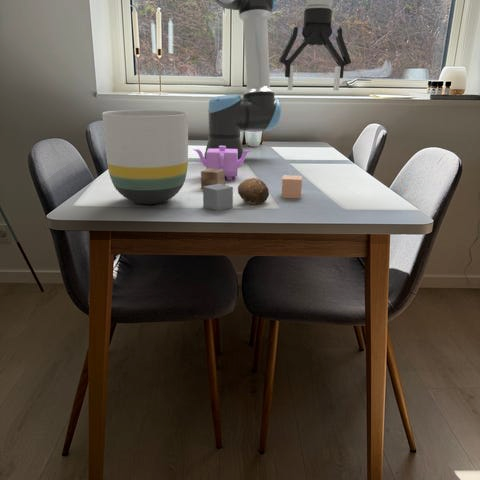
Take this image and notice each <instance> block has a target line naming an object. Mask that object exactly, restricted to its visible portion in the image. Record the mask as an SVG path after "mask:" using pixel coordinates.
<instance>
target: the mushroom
mask: <svg viewBox="0 0 480 480" xmlns="http://www.w3.org/2000/svg"><path fill="white" fill-rule="evenodd" d="M237 194H238V195H239V196H240V199H242V200H243V201H244V202H245V203H247V204H251V205H254V206H255V205H262V204H264V203H265V202H267V201H268V199H269V196H270V191H269V188H268V186H267V185H266V183H265V182H264V181H263V180H261V179H260V178H254V177H252V178H247V179H244V180H243V181H241V182H240V183H239V185H238V186H237Z"/></svg>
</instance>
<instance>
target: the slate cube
mask: <svg viewBox="0 0 480 480" xmlns="http://www.w3.org/2000/svg"><path fill="white" fill-rule="evenodd" d="M233 193H234V187H233V186H230V185H226V184H225V185H223V184H214V185H209V186H203V189H202V201H203V202H202V203H203V204H202V207H204V208H206V209H210V210H213V211H216V212H217V211H223V210H226V209H232V208H233V205H234V204H233V203H234V201H233V199H234V196H233V195H234V194H233Z"/></svg>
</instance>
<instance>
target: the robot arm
mask: <svg viewBox="0 0 480 480" xmlns="http://www.w3.org/2000/svg"><path fill="white" fill-rule="evenodd" d="M277 1H278V0H213V2H215V3H216V4H217V5H218V6H220V7H221V8H224V9H227V10H231V11H238V15H239V16H238V17H239V19H240V20H241V21H242V22H243V34H244V37H243V38H244V56H245V77H246V90H245V91H244V92H243V94H242V96H241V95H240V94H226V95H218V96H214V97H211V98H210V99H209V101H208V108H207V109H208V110H207V112H208V141H207V144H206V148H205V152H204V154H203V156H204V158H205V159H206V152H207V150H208V149H219V146H226V149H238V160H239V159H240V158H241V156H242V154H243V152H244V148H243V144H242V141H241V132H251V131H252V132H253V131H255V132H257V131H261V132H264V131H271V130H274V129H275V128H276V127H277V125H278V123H279V121H280V118H281V115H282V104H281V103H280V102H281V101H280V100H279V98H276V97H275V92H274V91H273V90H272V89H271V85H270V83H271V82H270V80H271V79H270V61H269V60H270V56H269V54H270V52H269V32H268V31H269V29H268V20H269V19H270V17H272V12H274V10H275V9H276V7H277ZM333 1H334V0H304V7H305V8H306V9H305V10H304V12H303V26H302V28H299V27H297V26H294V27H292V29H291V33H290V38H289V40H288V41H287V43H286V45H285V47H284V49H283V51H282V53H281V55H280V57H279V59H278V62H279V63H280V64H283V65H284V76H285V78H287V90H288V91H293V85H294V84H293V82H294V81H293V80H294V65H292V63H293V62H294V61H295V59H297V57H298V56H299V55H300V54H301V53H302V51H304V49H305V48H306V47H307V46H308V45H309V46H311V47H312V46H319V47H320V46H324V47H325V48H326V50H327V51H328V53H329V54H330V56H331V57H332V58H333V60H334V61H335V63H336V64H337V66H335V67H334V79H333V80H334V81H333V91H336V92H337V91H339V90H340V79H343V78H344V71H345V66H347V65H350V64H351V63H352V60H351V57H350V55H349V52H348V48H347V46H346V43H345V41H344V37H343V29H342V28H341V27H339V28H334V29H333V28H332V20H333V19H332V16H333V10H332V7H333V5H334V3H333ZM300 34H301V35H302V37H303V40H302V41H301V42H300V44H299V45H298V46H297V48H296V49H295V50H294V51H293V52H292V53H291V55H290V56H289V53H290V52H291V50H292V47H293V45H294V43H295V42H296V39H297V37H299V36H300ZM331 35H332V36H333V37H334V38H335V42H336V44H337V47H338V49H339V52H340V54H339V52H338V51H337V49H336V48H335V46H334V45H333V43H332V41H331V39H330V38H331ZM340 55H341V56H340ZM288 56H289V57H288ZM287 57H288V58H287Z"/></svg>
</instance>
